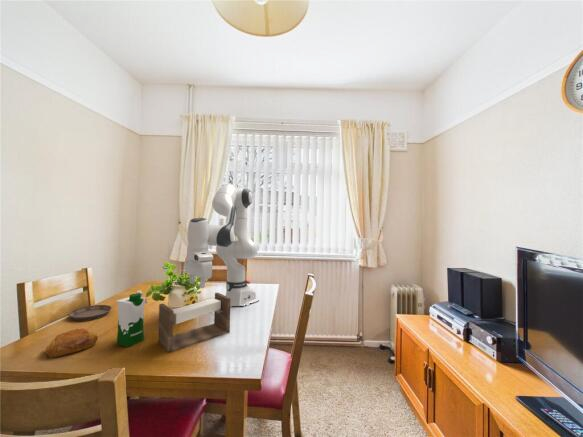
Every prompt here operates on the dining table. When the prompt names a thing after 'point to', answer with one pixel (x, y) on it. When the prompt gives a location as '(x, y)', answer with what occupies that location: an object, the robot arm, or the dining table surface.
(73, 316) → the plant saucer
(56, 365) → the dining table surface
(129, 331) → the milk carton
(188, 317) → the shelf board
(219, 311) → the shelf frame
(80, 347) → the croissant
